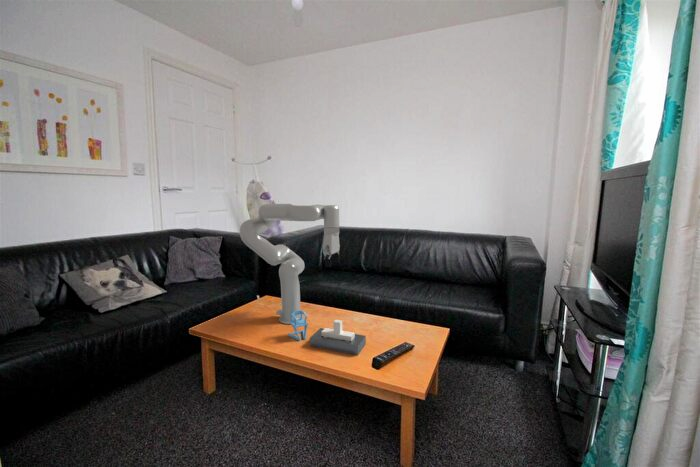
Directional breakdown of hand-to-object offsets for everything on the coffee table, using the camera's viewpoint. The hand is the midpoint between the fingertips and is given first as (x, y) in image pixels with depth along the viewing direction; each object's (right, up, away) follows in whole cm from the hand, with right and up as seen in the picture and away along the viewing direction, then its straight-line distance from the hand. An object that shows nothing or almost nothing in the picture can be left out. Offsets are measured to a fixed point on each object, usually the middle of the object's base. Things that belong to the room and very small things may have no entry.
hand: (332, 264), depth 159 cm
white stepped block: (+4, -33, -20) cm, 38 cm away
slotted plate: (+4, -33, -20) cm, 39 cm away
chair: (-15, -33, -11) cm, 37 cm away
